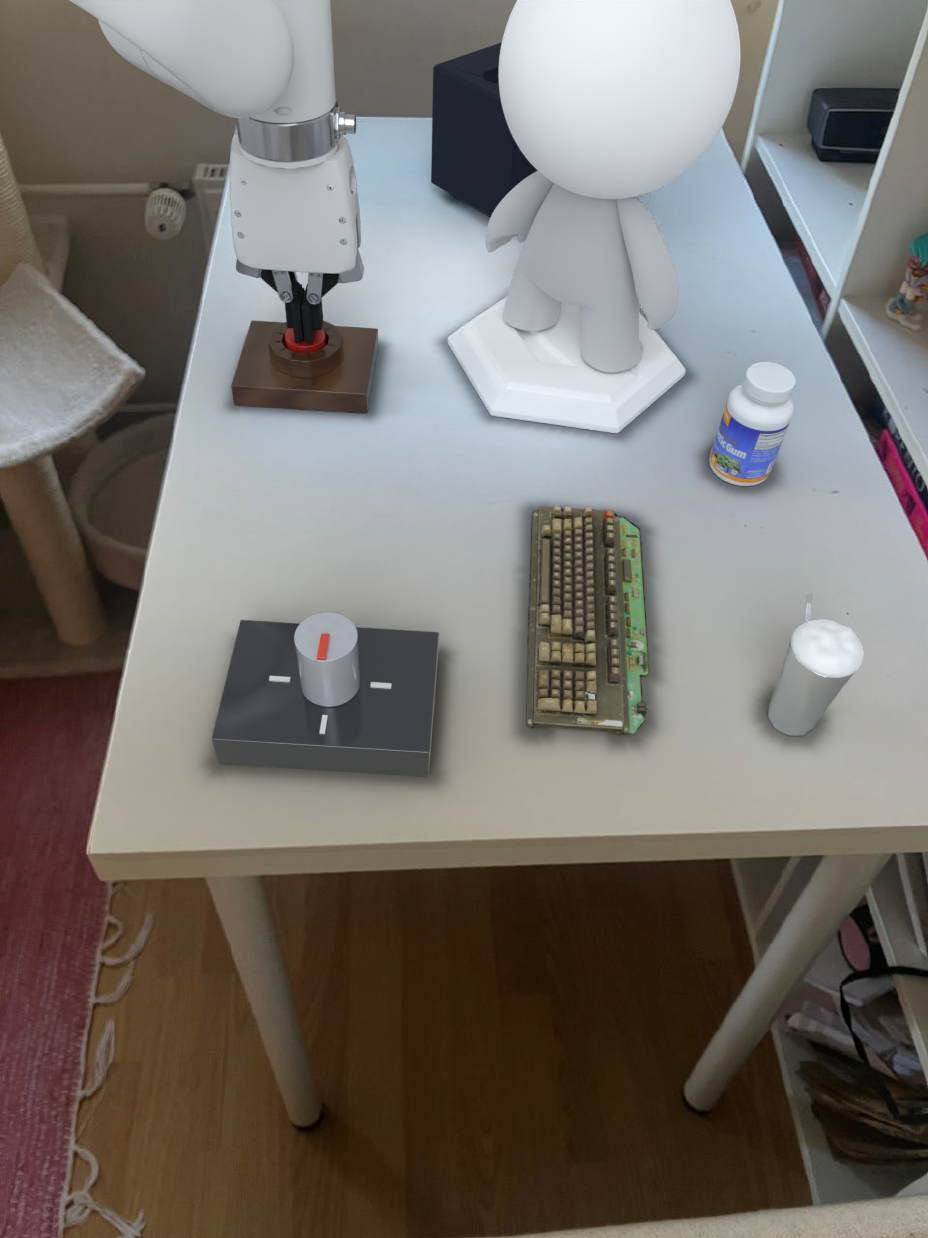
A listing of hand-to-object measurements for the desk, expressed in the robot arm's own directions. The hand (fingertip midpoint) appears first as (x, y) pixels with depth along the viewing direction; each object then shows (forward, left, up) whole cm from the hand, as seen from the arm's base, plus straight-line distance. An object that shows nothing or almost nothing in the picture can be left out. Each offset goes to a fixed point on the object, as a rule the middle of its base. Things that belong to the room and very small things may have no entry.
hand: (306, 333), depth 90 cm
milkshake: (+39, -35, -5) cm, 53 cm away
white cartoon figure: (+24, +5, -5) cm, 25 cm away
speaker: (+21, +38, -5) cm, 44 cm away
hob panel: (+7, -37, -5) cm, 38 cm away
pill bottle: (+39, -9, -5) cm, 40 cm away
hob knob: (+7, -37, -1) cm, 38 cm away
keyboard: (+25, -27, -5) cm, 37 cm away
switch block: (0, 0, -5) cm, 5 cm away
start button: (0, 0, -2) cm, 2 cm away
